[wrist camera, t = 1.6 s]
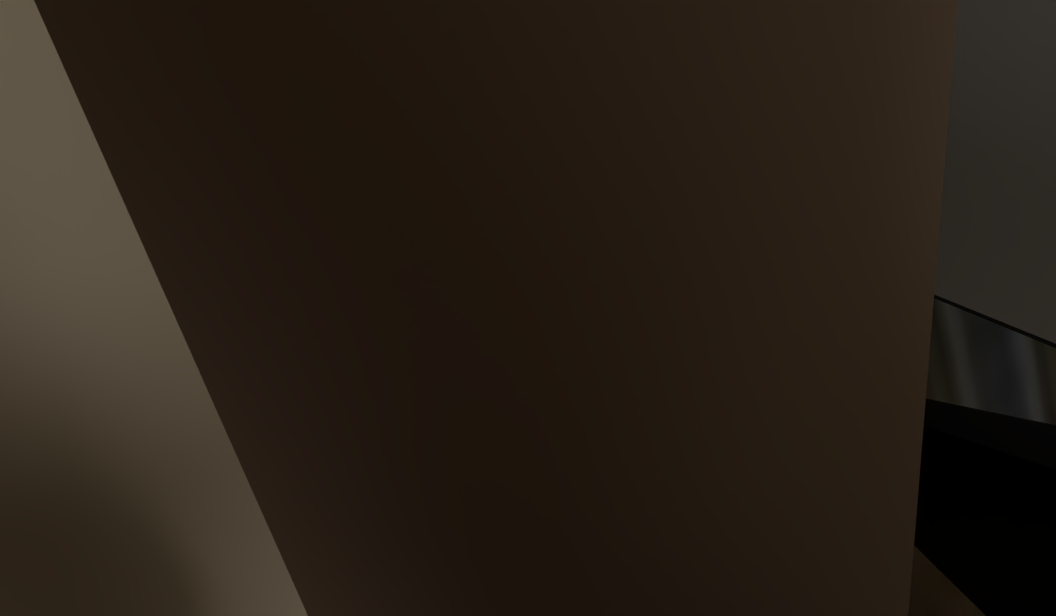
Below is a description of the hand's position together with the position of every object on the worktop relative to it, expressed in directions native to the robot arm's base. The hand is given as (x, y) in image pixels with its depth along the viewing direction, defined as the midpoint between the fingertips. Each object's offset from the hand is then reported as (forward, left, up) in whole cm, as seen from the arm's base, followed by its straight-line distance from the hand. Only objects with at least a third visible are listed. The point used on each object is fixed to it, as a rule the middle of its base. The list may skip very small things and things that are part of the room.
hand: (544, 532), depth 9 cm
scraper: (0, 0, -1) cm, 1 cm away
